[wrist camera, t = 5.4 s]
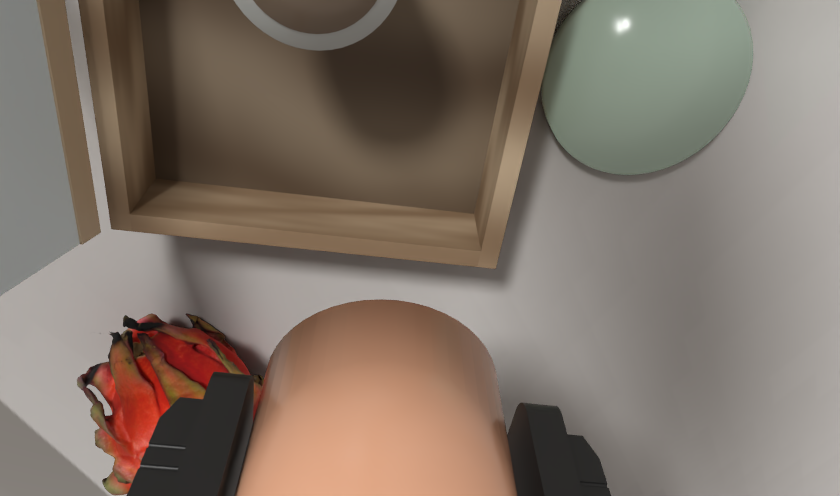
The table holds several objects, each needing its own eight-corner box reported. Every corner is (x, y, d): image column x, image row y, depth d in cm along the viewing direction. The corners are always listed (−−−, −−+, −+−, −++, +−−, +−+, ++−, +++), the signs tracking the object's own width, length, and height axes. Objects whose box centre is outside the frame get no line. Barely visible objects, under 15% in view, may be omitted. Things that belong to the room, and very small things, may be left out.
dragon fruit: (232, 427, 40) (171, 255, 35) (329, 472, 35) (273, 280, 30) (106, 525, 34) (11, 335, 29) (200, 598, 29) (104, 383, 24)
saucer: (570, -48, 24) (574, -45, 23) (780, -16, 24) (789, -12, 24) (520, 156, 28) (523, 163, 28) (699, 178, 29) (705, 185, 28)
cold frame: (-129, -292, 20) (-721, -438, 9) (577, -172, 22) (734, -183, 11) (-12, 172, 28) (-252, 364, 18) (486, 227, 30) (529, 426, 20)
